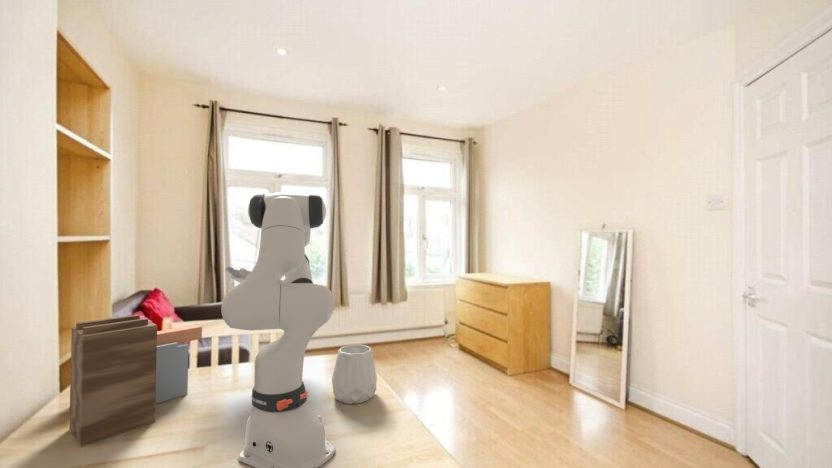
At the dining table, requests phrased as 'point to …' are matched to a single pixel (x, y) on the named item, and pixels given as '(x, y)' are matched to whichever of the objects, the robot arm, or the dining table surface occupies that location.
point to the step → (171, 371)
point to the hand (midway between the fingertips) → (233, 269)
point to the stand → (112, 377)
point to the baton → (179, 335)
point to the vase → (354, 374)
